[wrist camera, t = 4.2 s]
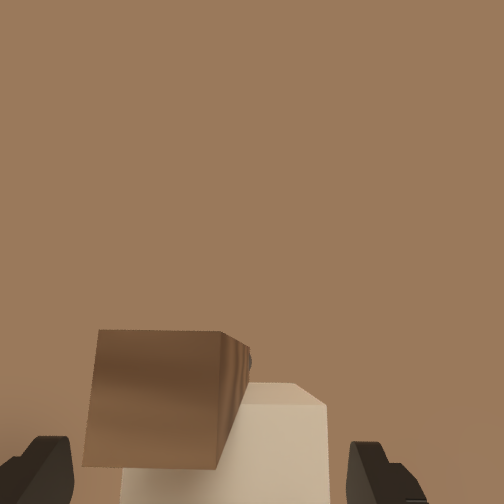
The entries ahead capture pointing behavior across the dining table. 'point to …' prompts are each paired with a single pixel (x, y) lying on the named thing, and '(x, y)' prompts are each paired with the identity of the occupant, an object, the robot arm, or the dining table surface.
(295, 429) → the post
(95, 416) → the lever handle
